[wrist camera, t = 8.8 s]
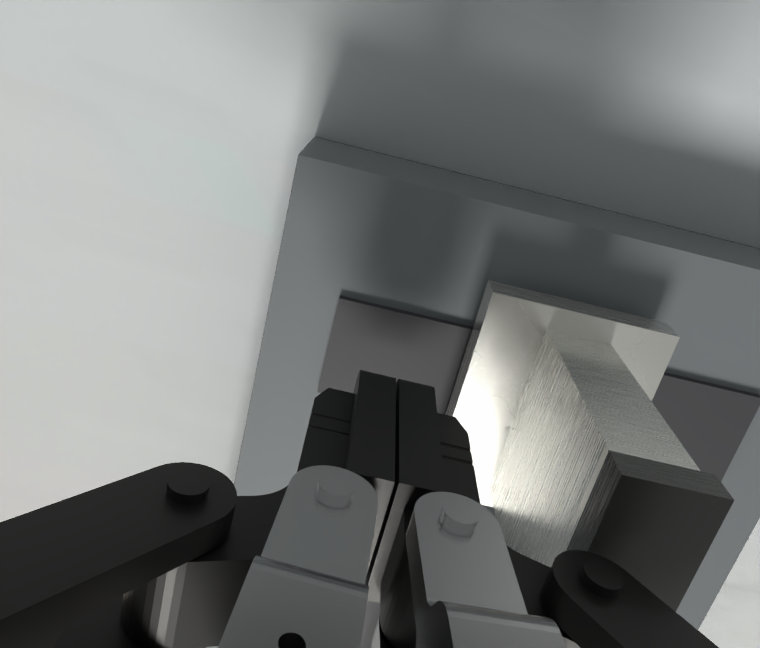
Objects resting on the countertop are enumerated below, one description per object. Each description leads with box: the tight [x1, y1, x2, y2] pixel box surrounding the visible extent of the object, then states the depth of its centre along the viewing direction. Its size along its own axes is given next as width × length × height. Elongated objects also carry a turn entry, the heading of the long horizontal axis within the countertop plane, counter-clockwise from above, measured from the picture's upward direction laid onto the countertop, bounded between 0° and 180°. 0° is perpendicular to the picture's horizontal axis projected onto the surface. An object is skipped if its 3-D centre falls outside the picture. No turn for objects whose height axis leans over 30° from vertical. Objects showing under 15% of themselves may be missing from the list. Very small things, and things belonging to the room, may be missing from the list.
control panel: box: [206, 137, 760, 648], centre depth 21 cm, size 13×26×4 cm, turn 166°
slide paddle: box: [445, 280, 734, 612], centre depth 13 cm, size 4×5×6 cm
